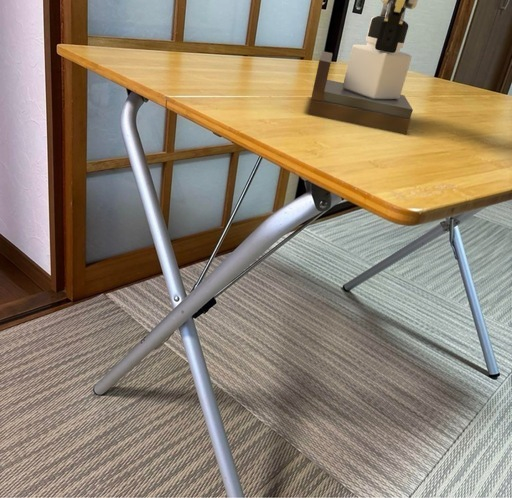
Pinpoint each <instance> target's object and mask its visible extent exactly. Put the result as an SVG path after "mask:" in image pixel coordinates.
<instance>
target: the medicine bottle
mask: <svg viewBox="0 0 512 498" xmlns="http://www.w3.org/2000/svg"><path fill="white" fill-rule="evenodd" d="M384 17H385V16H380V15H375V16H372V17H371V18H370V21H369V25H368V29H367V33H366V36H365V41H366V44H358V43H357V44H353V45H352V46H351V50H350V54H349V59H348V63H347V67H346V71H345V75H344V79H343V82H342V83H343V89H345V90H348V91H351V92H354V93H357V94H360V95H363V96H366V97H368V98H371V99H399V98H400V95H402V92H403V88H404V84H405V82H406V79H407V78H406V77H407V74H408V71H409V67H410V64H411V60H412V55H411V54H409V53H406V52H402V51H401V49H403V47H404V44H405V40H406V37H407V34H408V31H409V24H408V22H406V21H405V20H403V23H402V25H403V27H402V30H401V34H400V38H399V41H398V45H397V48H396V51H395V52H394V53H390V52H385V51H380V50H376V49H375V45H376V41H377V37H378V33H379V30H380V26H381V22H384Z"/></svg>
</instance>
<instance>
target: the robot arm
mask: <svg viewBox="0 0 512 498" xmlns="http://www.w3.org/2000/svg"><path fill="white" fill-rule="evenodd" d="M380 1H381V3H382V4H383V5H382V9H381V11H380V15H379V16H385V17H384V22H381V26H380V30H379V33H378V37H377V41H376V45H375V49H376V50H380V51H385V52H390V53H394V52H395V51H396V48H397V45H398V41H399V38H400V34H401V30H402V27H403V25H402V23H403V21H405V14H406V10H407V9H408V10H414V9H415V8H416V7H417V4H418V1H419V0H380Z"/></svg>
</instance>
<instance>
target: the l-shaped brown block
mask: <svg viewBox="0 0 512 498" xmlns="http://www.w3.org/2000/svg"><path fill="white" fill-rule="evenodd" d="M332 59H333V52H328V51H321V55H320V57H319V59H318V64H317V69H316V73H315V79H314V83H313V86H312V92H311V96H310V102H309V106H308V110H307V115H308V116H314V117H318V118H323V119H328V120H332V121H333V120H334V121H338V122H342V123H348V124H353V125H357V126H362V127H368V128H372V129H375V130H376V129H377V130H381V131H386V132H390V133H396V134H401V135H407V132H408V129H409V126H410V123H411V118H412V114H413V111H414V109H413V107H412V106H411V104H410V102H409V101H408V99H407V97H406V96H405V95H404V94H401V95H400V98H399V99H371V98H368V97H366V96H363V95H360V94H357V93H354V92H351V91H348V90H345V89H343V83H344V82H341V81H335V80H330V79H328V76H329V73H330V69H331V63H332Z"/></svg>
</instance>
